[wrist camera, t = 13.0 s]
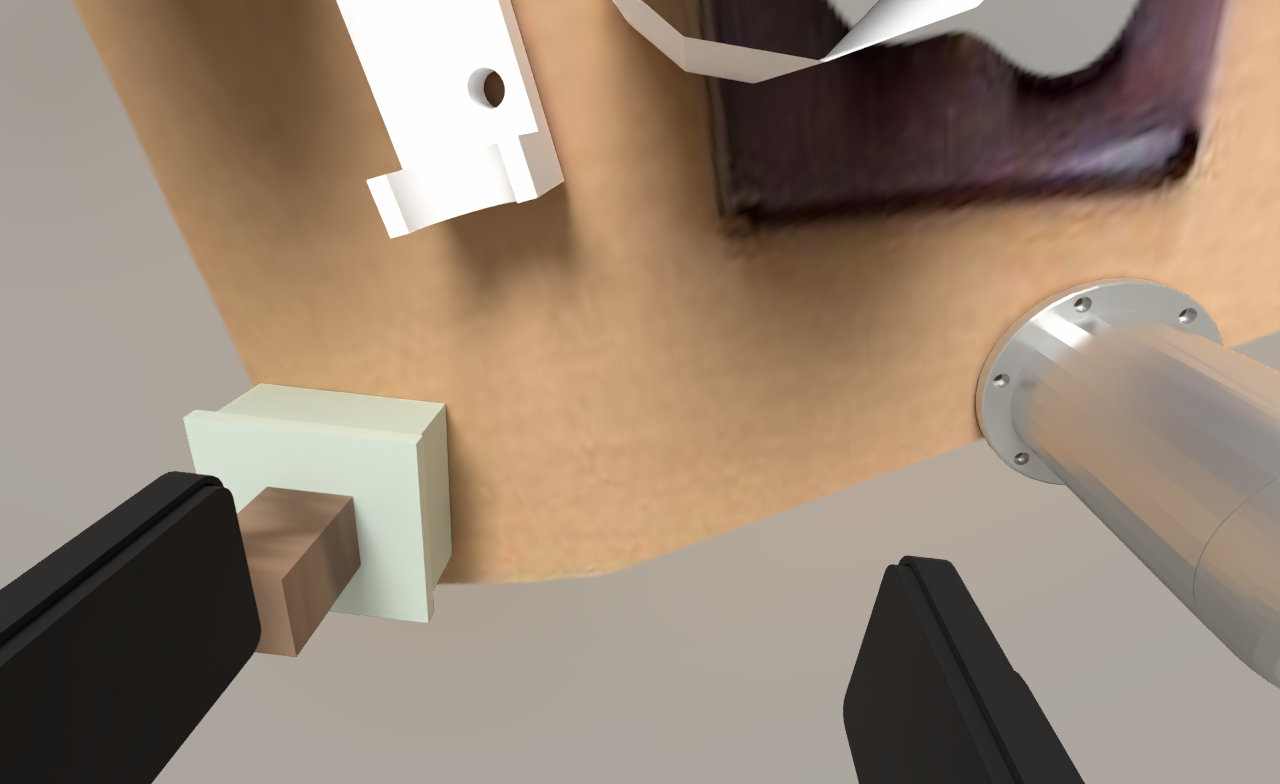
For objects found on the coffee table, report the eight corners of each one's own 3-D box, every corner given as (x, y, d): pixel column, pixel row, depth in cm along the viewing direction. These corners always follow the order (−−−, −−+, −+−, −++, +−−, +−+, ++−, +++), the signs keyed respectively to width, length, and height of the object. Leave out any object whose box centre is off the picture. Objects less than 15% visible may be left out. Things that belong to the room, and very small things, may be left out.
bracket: (567, 178, 34) (537, 197, 27) (447, 212, 35) (390, 238, 29) (482, -107, 29) (420, -172, 22) (346, -57, 30) (247, -104, 24)
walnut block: (352, 496, 36) (281, 579, 30) (361, 565, 38) (296, 657, 32) (267, 486, 36) (177, 567, 30) (280, 555, 38) (199, 645, 32)
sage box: (453, 397, 40) (416, 443, 34) (459, 560, 45) (428, 623, 40) (251, 375, 40) (183, 417, 35) (281, 539, 46) (226, 599, 40)
